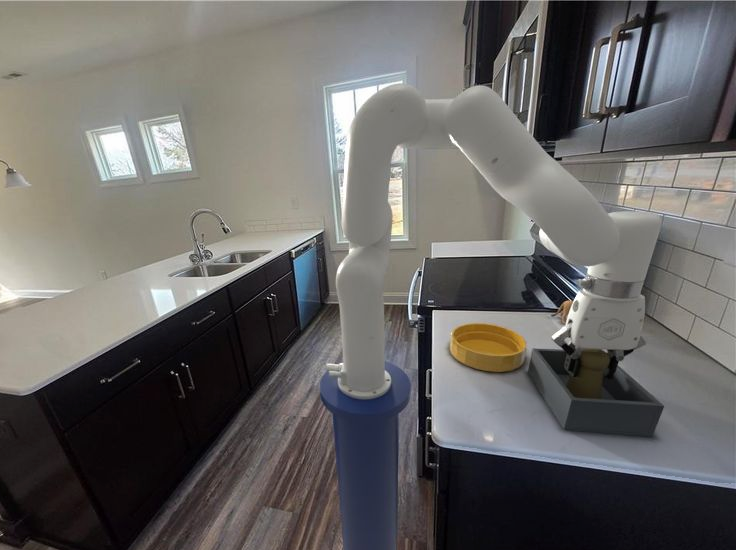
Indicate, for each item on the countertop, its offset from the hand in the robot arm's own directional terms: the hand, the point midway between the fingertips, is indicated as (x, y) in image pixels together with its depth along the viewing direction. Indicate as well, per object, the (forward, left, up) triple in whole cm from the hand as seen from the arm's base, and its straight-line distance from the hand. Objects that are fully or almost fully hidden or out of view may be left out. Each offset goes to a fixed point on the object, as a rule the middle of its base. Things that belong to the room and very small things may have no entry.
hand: (587, 373), depth 61 cm
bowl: (-14, +17, -6) cm, 23 cm away
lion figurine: (+16, +35, -7) cm, 39 cm away
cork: (0, 0, -6) cm, 6 cm away
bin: (0, 0, -6) cm, 6 cm away
